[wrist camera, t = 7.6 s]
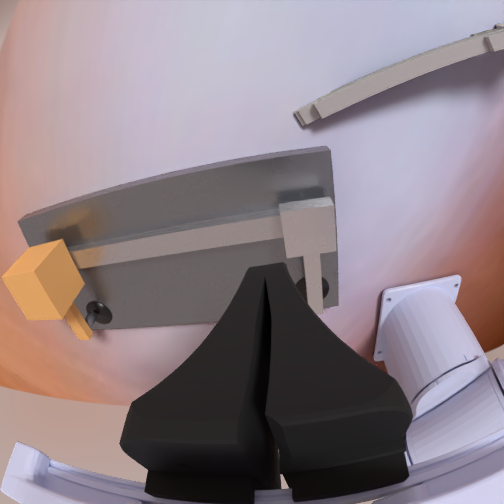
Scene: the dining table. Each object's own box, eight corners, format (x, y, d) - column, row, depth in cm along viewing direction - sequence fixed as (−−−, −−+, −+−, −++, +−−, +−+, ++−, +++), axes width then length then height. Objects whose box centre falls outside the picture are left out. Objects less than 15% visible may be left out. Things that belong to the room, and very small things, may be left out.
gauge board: (335, 295, 24) (344, 325, 21) (81, 321, 27) (68, 346, 24) (326, 145, 18) (339, 160, 15) (25, 215, 20) (2, 235, 18)
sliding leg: (112, 318, 24) (92, 361, 20) (78, 320, 24) (57, 360, 20) (68, 232, 20) (33, 271, 15) (34, 241, 20) (1, 277, 16)
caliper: (507, 19, 11) (562, 21, 6) (512, 31, 11) (568, 36, 6) (292, 111, 17) (309, 127, 12) (302, 126, 18) (322, 148, 12)
